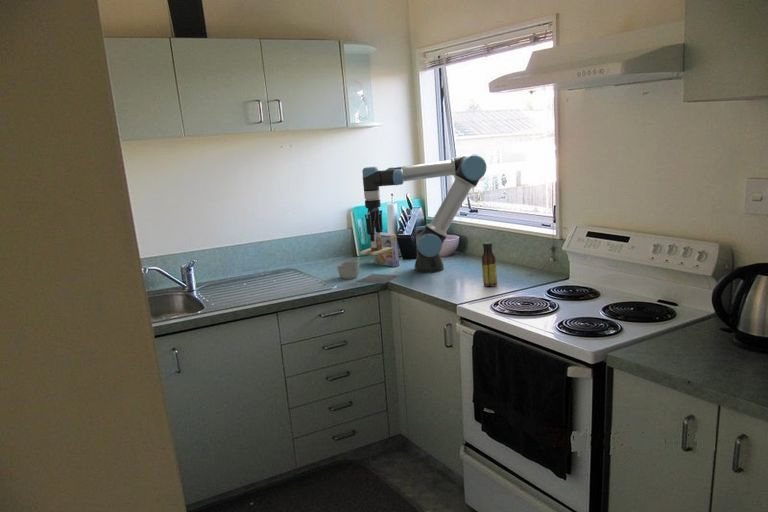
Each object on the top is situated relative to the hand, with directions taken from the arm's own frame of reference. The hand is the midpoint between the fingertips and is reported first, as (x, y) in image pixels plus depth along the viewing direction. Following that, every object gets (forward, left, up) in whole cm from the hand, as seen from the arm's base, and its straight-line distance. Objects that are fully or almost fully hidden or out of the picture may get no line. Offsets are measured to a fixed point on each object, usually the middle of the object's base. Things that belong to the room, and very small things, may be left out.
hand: (376, 246), depth 283 cm
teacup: (+17, 0, -17) cm, 24 cm away
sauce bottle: (-57, -2, -17) cm, 59 cm away
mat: (0, 0, -17) cm, 17 cm away
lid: (0, 0, -3) cm, 3 cm away
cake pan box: (+12, -30, -17) cm, 36 cm away
